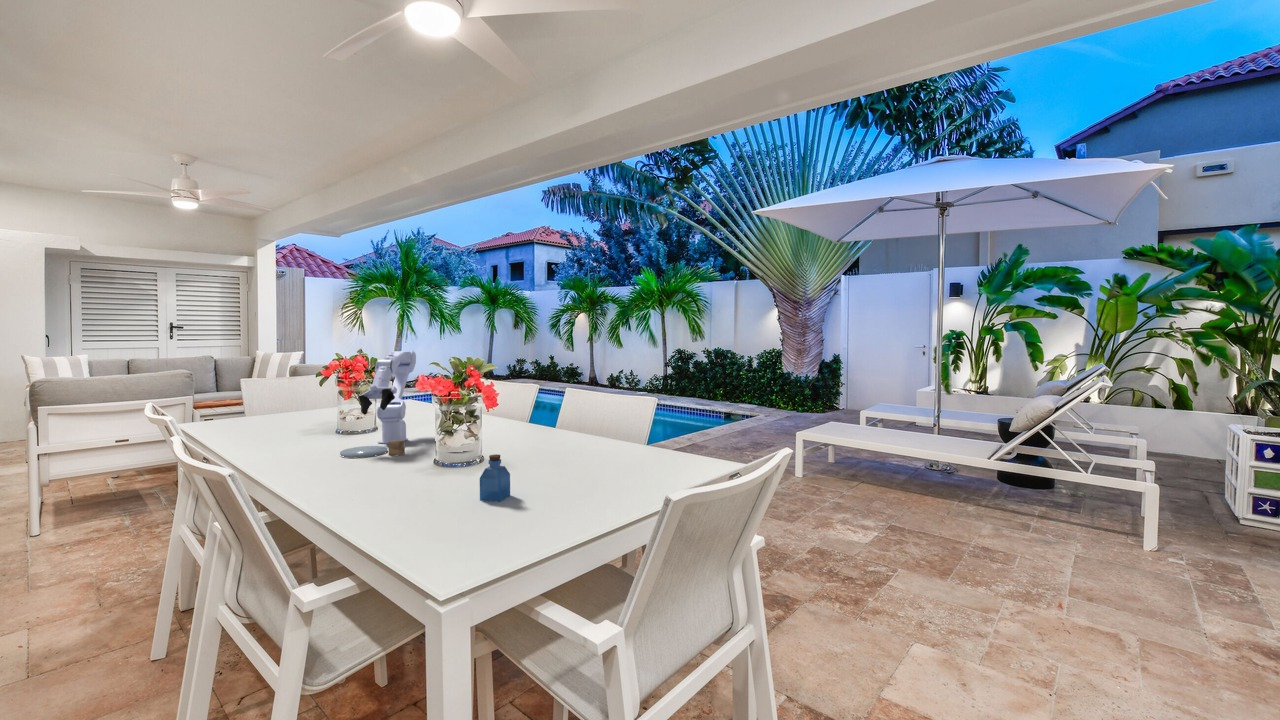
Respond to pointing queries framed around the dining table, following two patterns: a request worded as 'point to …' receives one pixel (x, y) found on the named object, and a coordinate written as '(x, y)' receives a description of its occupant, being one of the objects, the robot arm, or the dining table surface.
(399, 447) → the walnut block
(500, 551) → the dining table surface
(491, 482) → the perfume bottle
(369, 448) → the slate dish
